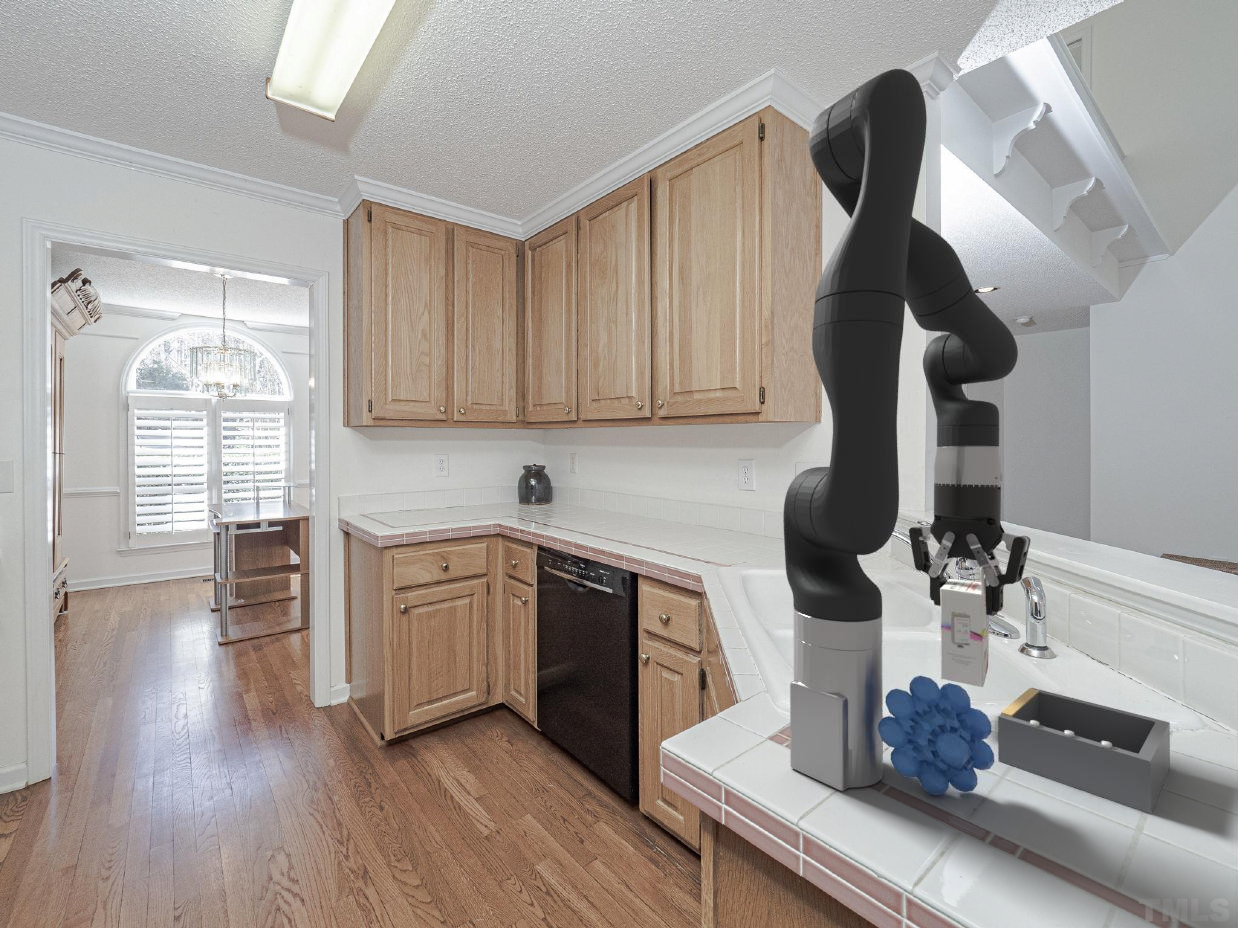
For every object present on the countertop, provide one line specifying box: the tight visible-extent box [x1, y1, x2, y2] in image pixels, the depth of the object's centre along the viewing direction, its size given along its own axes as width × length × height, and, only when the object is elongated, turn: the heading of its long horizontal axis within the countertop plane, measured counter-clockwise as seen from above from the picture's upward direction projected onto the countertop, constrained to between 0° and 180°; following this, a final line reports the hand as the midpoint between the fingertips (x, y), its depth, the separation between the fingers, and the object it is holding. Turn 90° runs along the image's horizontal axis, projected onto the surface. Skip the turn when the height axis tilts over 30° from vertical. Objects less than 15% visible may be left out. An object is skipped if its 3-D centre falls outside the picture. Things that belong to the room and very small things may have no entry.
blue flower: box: [878, 675, 995, 796], centre depth 56 cm, size 12×7×12 cm, turn 90°
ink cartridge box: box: [940, 567, 990, 688], centre depth 74 cm, size 9×5×15 cm, turn 143°
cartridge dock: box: [997, 687, 1171, 815], centre depth 63 cm, size 13×13×5 cm
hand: (965, 608), depth 74 cm, fingers closed on ink cartridge box, 5 cm apart
